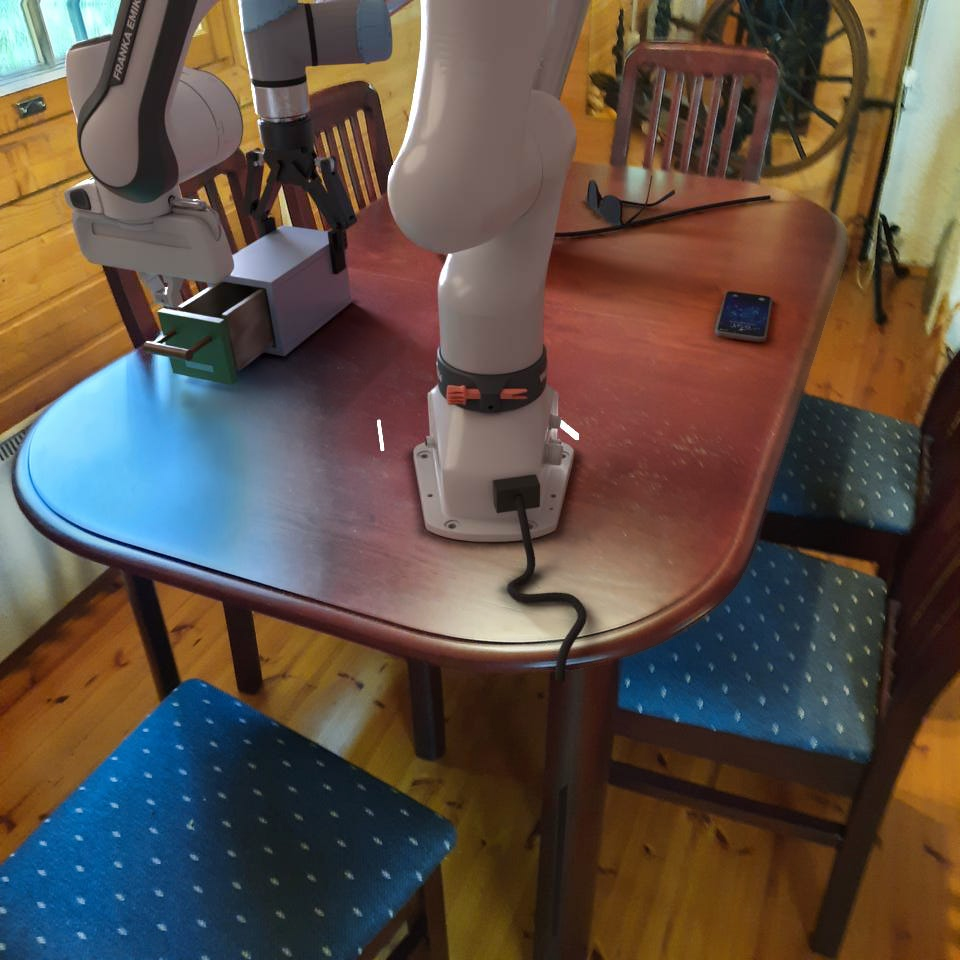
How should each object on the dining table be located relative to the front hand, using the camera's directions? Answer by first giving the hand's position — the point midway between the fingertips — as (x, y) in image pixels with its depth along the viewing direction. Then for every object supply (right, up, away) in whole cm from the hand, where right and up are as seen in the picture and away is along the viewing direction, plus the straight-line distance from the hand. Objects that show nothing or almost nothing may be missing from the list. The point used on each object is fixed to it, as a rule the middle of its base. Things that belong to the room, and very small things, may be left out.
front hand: (168, 304), depth 106 cm
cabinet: (+9, +2, +25) cm, 27 cm away
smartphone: (+78, +2, +22) cm, 81 cm away
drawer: (+4, -5, +14) cm, 15 cm away
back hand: (+12, +11, +26) cm, 31 cm away
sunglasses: (+68, +31, +61) cm, 96 cm away
